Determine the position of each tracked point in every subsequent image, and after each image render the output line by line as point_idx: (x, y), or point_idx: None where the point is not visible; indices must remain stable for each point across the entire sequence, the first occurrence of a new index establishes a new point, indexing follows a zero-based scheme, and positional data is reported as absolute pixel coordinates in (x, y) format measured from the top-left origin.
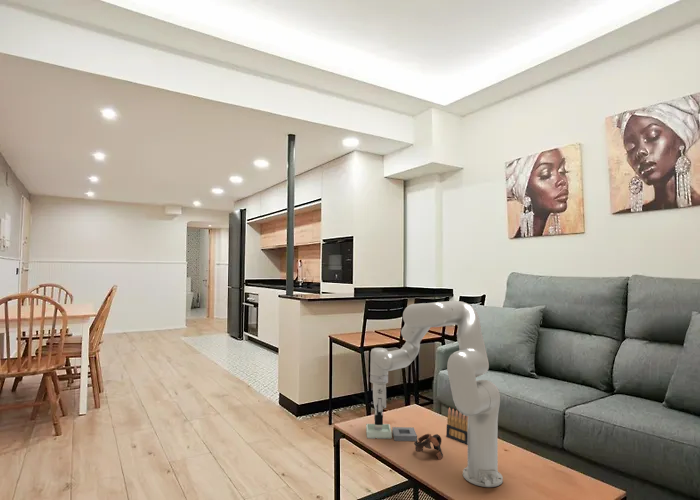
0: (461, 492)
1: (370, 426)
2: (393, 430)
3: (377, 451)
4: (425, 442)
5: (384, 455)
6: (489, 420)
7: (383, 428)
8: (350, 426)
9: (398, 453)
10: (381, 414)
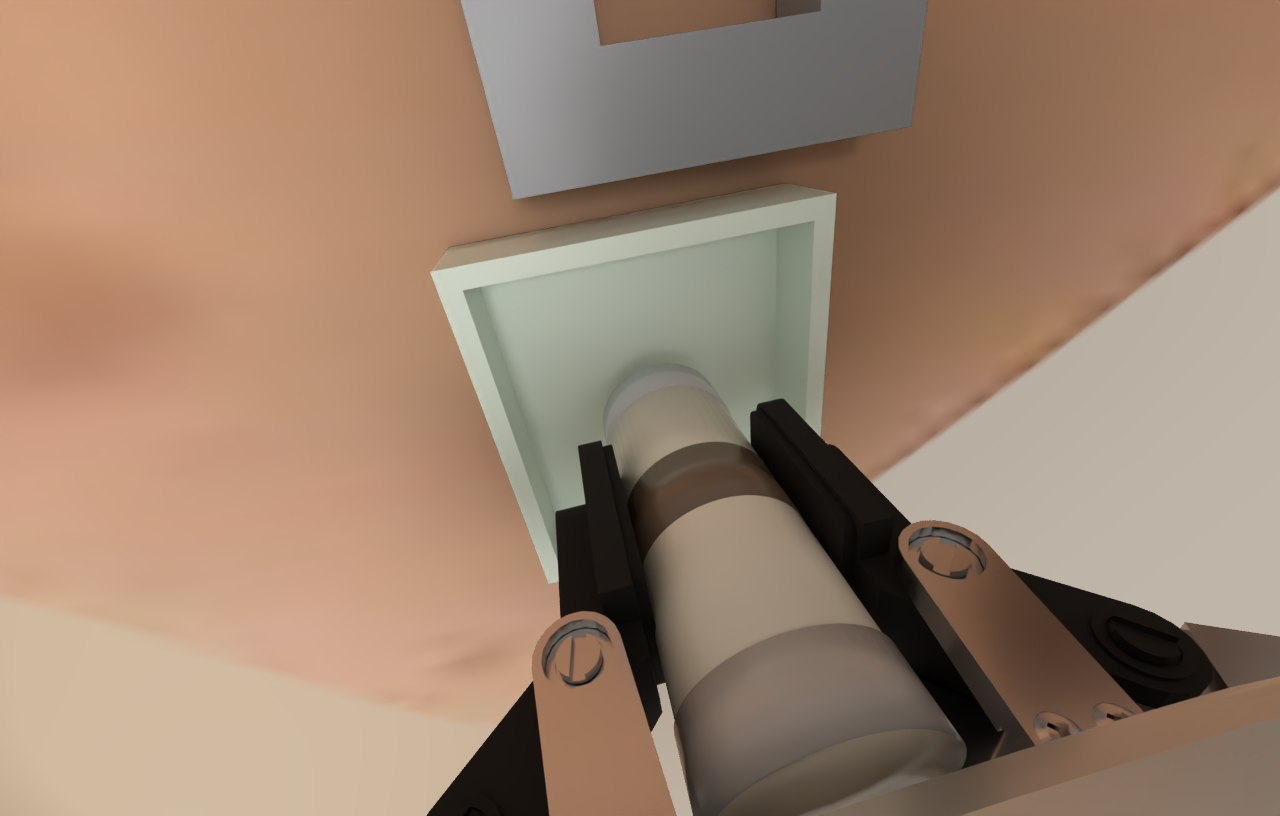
0: None
1: (550, 519)
2: (681, 164)
3: (1090, 320)
4: None
5: (1199, 236)
6: None
7: (497, 350)
8: (505, 657)
9: (1233, 50)
10: (981, 560)
